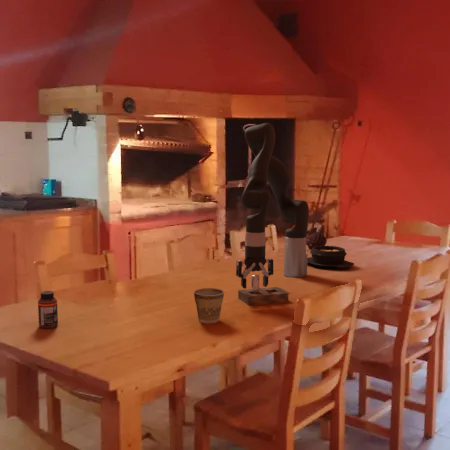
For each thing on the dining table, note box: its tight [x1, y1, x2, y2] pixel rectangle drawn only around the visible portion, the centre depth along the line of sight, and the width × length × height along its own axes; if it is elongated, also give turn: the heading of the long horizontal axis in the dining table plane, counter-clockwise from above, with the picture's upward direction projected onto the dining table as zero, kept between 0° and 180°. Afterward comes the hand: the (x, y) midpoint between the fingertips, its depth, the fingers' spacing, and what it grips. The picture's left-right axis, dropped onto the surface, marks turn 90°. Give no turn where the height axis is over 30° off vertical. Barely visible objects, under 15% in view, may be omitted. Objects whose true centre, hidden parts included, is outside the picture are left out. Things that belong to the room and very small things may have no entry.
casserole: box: [307, 245, 355, 269], centre depth 298 cm, size 25×19×8 cm
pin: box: [250, 274, 260, 294], centre depth 235 cm, size 3×3×10 cm
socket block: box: [237, 286, 290, 306], centre depth 237 cm, size 16×10×4 cm, turn 110°
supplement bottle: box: [37, 290, 59, 329], centre depth 204 cm, size 6×6×11 cm
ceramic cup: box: [193, 287, 225, 325], centre depth 212 cm, size 13×10×10 cm
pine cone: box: [306, 231, 328, 251], centre depth 335 cm, size 18×10×10 cm, turn 137°
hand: (254, 287), depth 235 cm, fingers open, 8 cm apart
